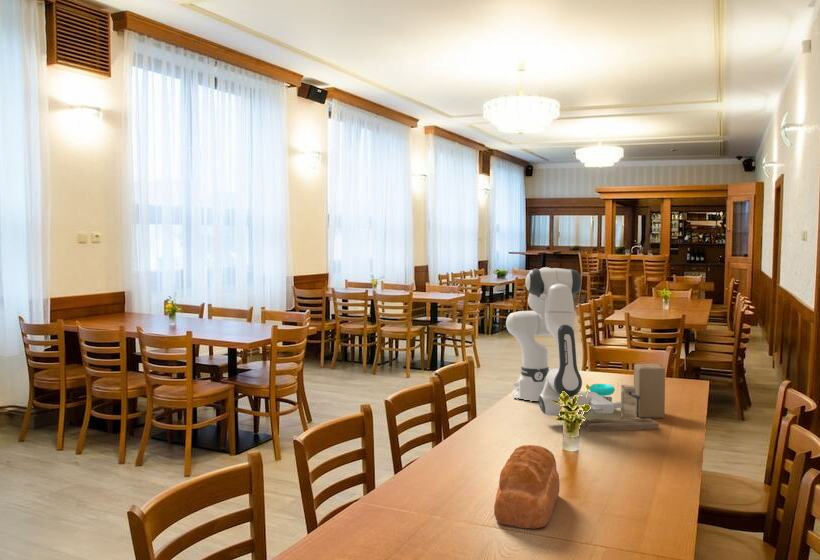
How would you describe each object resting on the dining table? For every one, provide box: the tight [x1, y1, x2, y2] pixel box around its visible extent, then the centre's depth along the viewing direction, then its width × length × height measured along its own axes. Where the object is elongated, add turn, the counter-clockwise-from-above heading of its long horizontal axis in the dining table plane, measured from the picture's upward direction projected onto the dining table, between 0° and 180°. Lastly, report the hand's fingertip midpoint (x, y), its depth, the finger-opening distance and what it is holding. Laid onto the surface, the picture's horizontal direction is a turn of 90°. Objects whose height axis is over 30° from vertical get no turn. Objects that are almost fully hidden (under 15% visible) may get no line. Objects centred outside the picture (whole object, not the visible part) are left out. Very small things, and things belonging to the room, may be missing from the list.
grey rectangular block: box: [633, 363, 666, 419], centre depth 267 cm, size 10×10×20 cm
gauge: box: [620, 384, 640, 420], centre depth 255 cm, size 11×4×14 cm, turn 5°
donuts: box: [589, 383, 616, 403], centre depth 277 cm, size 10×10×10 cm
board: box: [583, 418, 660, 432], centre depth 251 cm, size 7×26×2 cm, turn 95°
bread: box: [493, 444, 561, 530], centre depth 177 cm, size 14×26×16 cm, turn 160°
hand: (616, 401), depth 258 cm, fingers open, 8 cm apart
